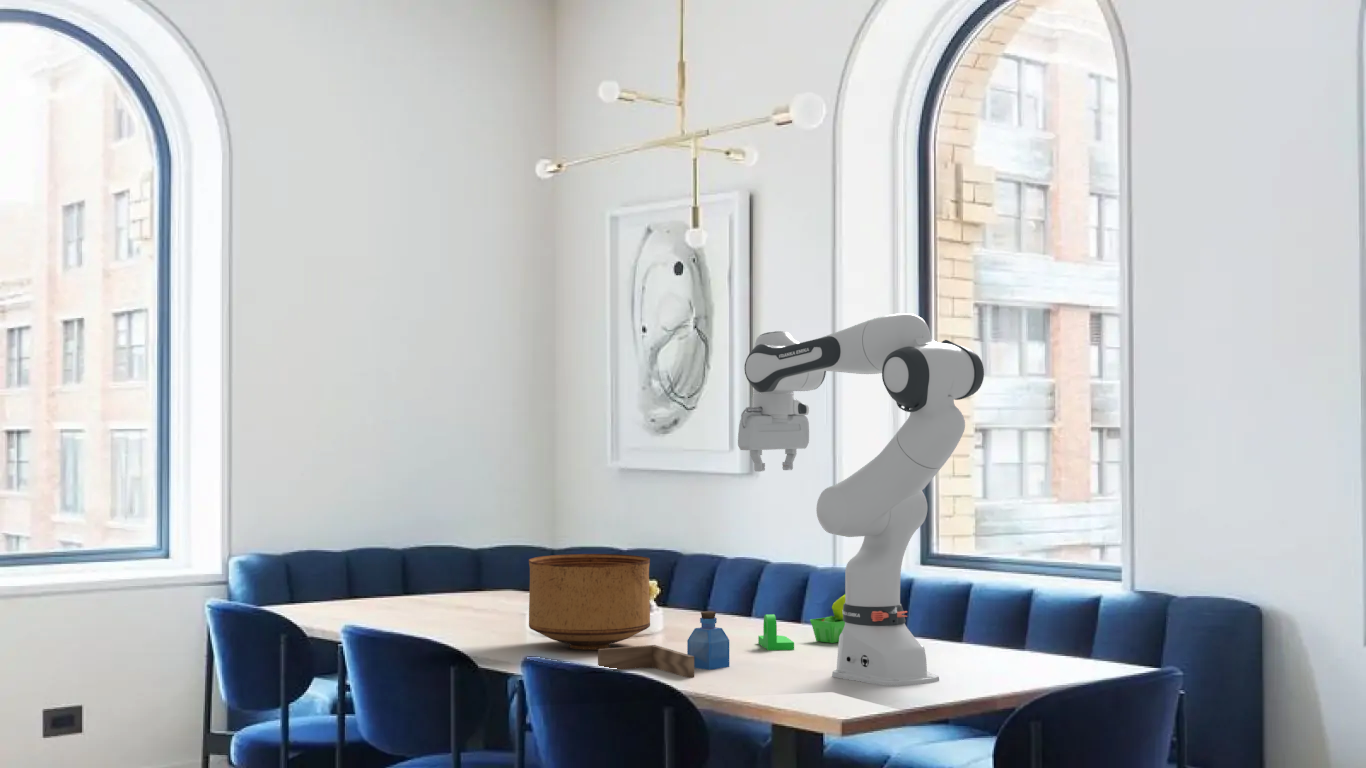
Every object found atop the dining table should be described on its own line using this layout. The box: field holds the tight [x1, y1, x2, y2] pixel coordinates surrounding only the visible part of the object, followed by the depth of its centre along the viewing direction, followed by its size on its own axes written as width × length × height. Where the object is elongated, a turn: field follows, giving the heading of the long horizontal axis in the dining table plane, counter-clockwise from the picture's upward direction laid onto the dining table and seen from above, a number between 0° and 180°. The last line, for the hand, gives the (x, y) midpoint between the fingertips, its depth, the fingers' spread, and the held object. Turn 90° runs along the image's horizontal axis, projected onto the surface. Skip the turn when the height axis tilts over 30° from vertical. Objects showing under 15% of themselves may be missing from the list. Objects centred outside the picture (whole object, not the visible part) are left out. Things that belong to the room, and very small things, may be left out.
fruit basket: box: [809, 593, 845, 644], centre depth 392 cm, size 11×9×11 cm
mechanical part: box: [757, 613, 795, 651], centre depth 382 cm, size 12×6×8 cm, turn 8°
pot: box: [528, 553, 651, 651], centre depth 381 cm, size 28×28×20 cm
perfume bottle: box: [686, 610, 730, 671], centre depth 349 cm, size 6×6×12 cm
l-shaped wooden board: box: [597, 644, 695, 679], centre depth 339 cm, size 18×13×5 cm
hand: (773, 470), depth 362 cm, fingers open, 8 cm apart
